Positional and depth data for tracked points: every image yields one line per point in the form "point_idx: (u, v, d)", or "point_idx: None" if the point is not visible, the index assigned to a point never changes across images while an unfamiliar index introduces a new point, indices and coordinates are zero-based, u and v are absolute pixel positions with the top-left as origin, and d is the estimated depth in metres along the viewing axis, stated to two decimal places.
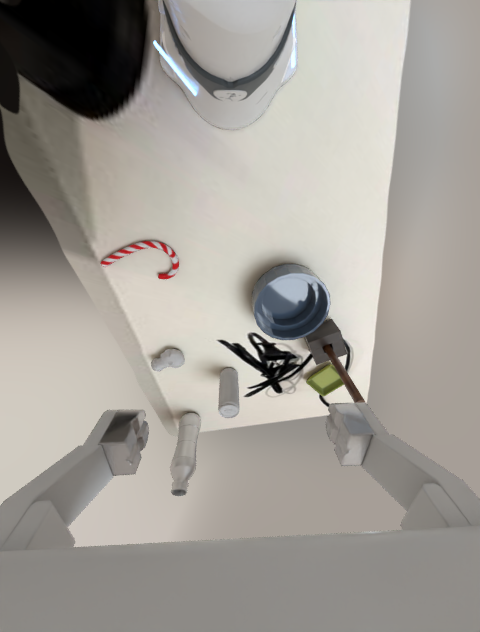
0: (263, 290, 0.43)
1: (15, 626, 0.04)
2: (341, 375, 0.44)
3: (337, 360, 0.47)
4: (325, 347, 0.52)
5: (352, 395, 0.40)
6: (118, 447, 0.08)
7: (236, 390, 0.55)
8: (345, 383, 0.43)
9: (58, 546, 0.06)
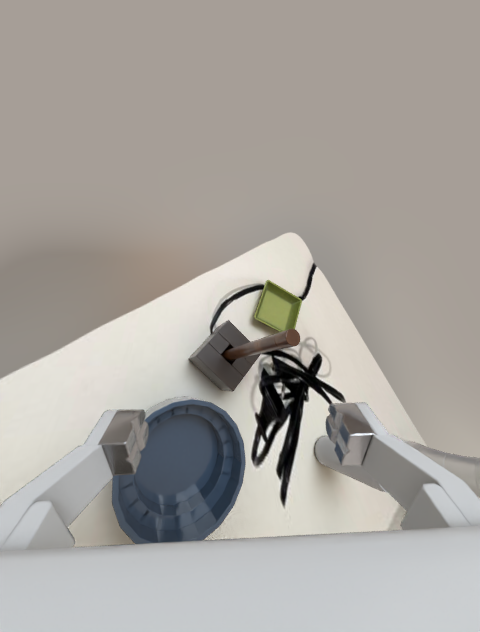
0: None
1: (15, 626, 0.04)
2: (259, 353, 0.26)
3: (240, 352, 0.29)
4: (230, 359, 0.33)
5: None
6: (118, 447, 0.08)
7: None
8: (269, 351, 0.24)
9: (58, 546, 0.06)
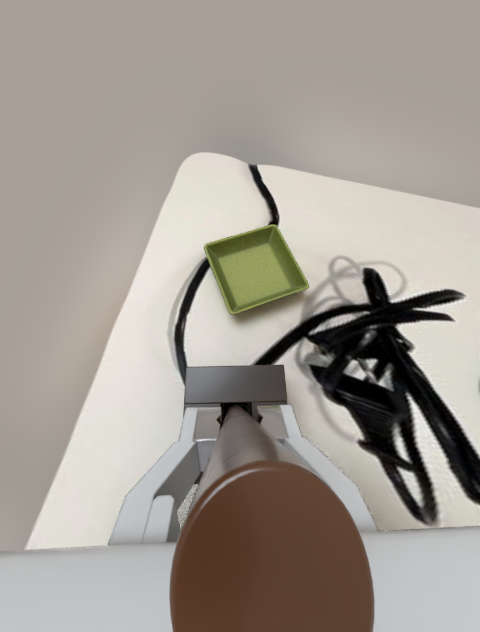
0: None
1: (15, 626, 0.04)
2: None
3: None
4: None
5: None
6: (211, 444, 0.08)
7: None
8: None
9: None
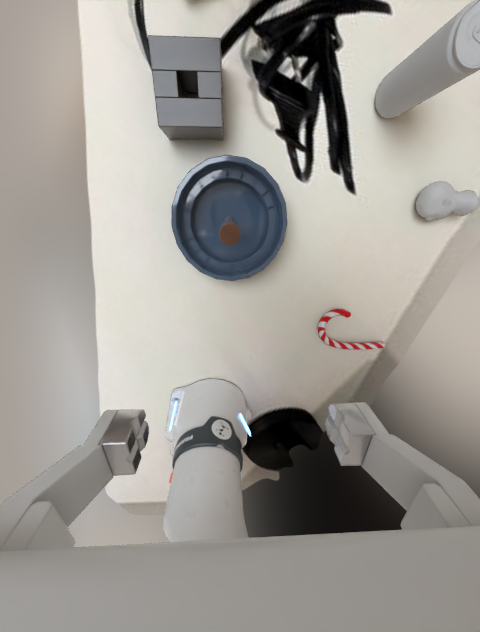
0: (255, 271, 0.33)
1: (15, 626, 0.04)
2: None
3: None
4: None
5: None
6: (118, 447, 0.08)
7: (413, 71, 0.23)
8: None
9: (58, 546, 0.06)
